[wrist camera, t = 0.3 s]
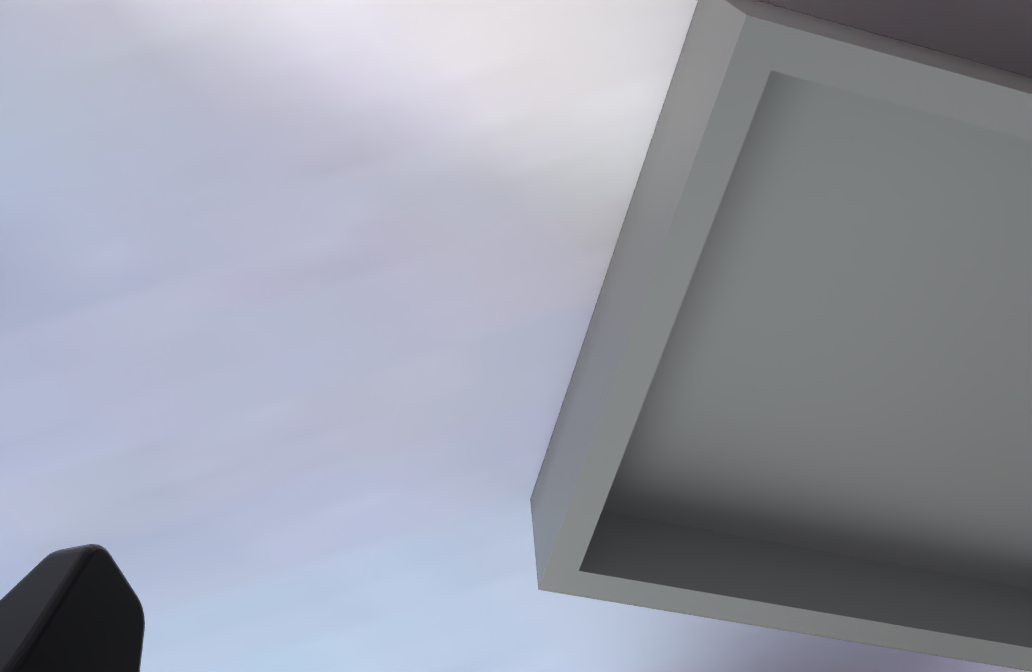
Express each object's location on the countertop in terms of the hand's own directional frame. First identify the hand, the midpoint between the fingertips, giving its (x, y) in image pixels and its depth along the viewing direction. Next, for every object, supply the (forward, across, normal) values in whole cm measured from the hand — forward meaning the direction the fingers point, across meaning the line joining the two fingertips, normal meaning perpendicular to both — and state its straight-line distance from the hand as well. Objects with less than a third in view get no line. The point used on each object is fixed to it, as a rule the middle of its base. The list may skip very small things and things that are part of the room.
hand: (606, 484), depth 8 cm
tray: (+13, -9, +10) cm, 19 cm away
